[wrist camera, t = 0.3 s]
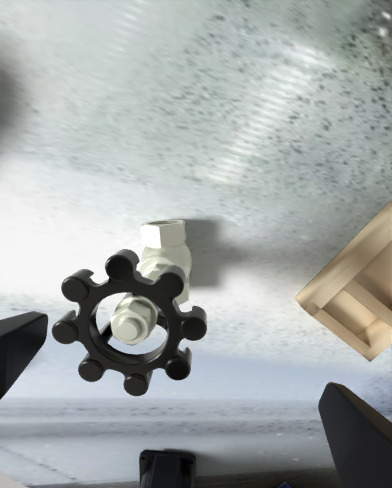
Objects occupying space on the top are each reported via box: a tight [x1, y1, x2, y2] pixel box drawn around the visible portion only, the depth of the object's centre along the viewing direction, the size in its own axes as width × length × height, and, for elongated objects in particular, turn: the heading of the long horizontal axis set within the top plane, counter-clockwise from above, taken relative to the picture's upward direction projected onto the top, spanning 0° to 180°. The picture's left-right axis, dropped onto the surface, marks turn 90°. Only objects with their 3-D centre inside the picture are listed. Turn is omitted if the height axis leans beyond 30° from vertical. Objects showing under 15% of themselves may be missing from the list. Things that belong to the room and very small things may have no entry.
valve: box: [52, 220, 207, 396], centre depth 15 cm, size 7×7×12 cm
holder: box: [295, 202, 392, 362], centre depth 20 cm, size 12×8×2 cm
